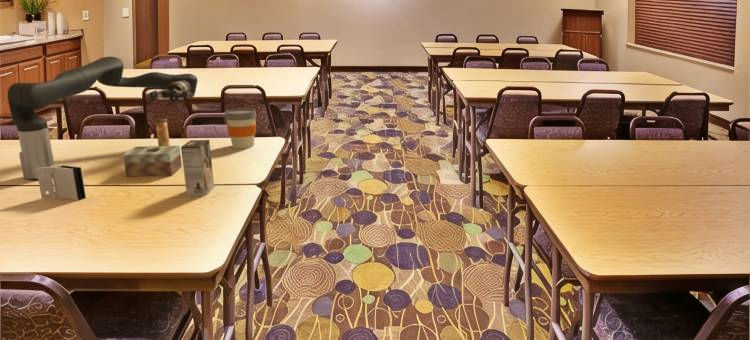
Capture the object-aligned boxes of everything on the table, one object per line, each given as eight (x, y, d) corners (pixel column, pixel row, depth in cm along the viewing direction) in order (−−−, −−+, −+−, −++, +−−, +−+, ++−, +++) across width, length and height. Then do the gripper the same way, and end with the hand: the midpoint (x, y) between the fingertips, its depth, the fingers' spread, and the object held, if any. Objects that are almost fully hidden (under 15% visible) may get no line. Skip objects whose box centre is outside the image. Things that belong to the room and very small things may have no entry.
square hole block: (126, 176, 204) (123, 154, 202) (138, 167, 216) (135, 146, 213) (171, 175, 205) (169, 153, 202) (181, 166, 216) (179, 145, 214)
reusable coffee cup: (262, 142, 252) (259, 108, 247) (253, 149, 240) (250, 113, 235) (233, 142, 253) (231, 108, 249) (223, 149, 241) (220, 113, 237)
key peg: (158, 163, 220) (153, 120, 216) (162, 160, 225) (157, 118, 220) (170, 163, 221) (164, 120, 216) (173, 160, 225) (168, 118, 220)
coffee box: (195, 187, 191) (190, 139, 187) (214, 187, 191) (210, 139, 187) (186, 196, 182) (180, 146, 178) (206, 195, 182) (201, 146, 178)
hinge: (40, 199, 182) (35, 168, 179) (52, 194, 187) (47, 163, 184) (80, 200, 180) (75, 169, 177) (91, 195, 185) (86, 164, 182)
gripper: (158, 82, 236) (143, 88, 221) (193, 81, 237) (181, 87, 221) (160, 100, 238) (146, 107, 223) (195, 100, 239) (183, 106, 223)
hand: (163, 97), depth 222 cm, fingers open, 8 cm apart
